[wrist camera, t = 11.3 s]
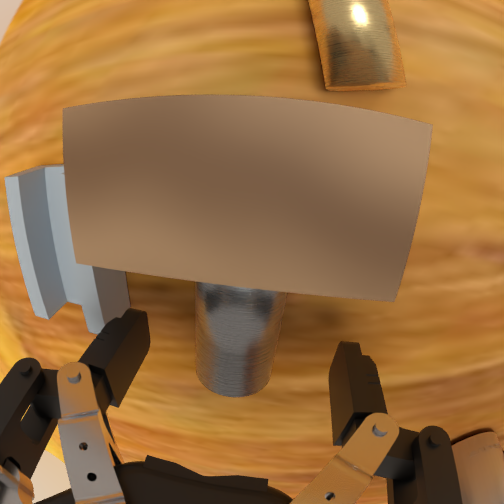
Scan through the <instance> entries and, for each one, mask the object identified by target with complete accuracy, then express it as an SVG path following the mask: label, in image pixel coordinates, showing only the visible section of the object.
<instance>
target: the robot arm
mask: <svg viewBox="0 0 504 504" xmlns="http://www.w3.org/2000/svg"><path fill="white" fill-rule="evenodd" d="M149 347H150V333H149V326H148V318H147V313H146V312H145V311H141V310H136V309H132V308H128V309H127V310H126V311H125V313H124V314H123V315H122V317H121V318H118V317H115V318H114V319H112V320H111V321H109V322H108V323H106V325H105V326H104V327H103V329H102V330H101V332H100V333H99V334H98V335H97V337H96V339H94V341H93V342H92V343H91V345H90V346H89V347H88V349H87V350H86V351H85V353H84V354H83V355H82V357H81V358H80V360H79V361H78V362H71V363H68V364H65V365H64V366H62V367H61V368H60V370H51V369H42V368H41V366H40V363H39V362H38V361H37V360H36V359H34V358H23V359H21V360H19V361H18V362H16V363H15V365H14V366H13V367H12V369H11V370H10V371H9V373H8V374H7V375H6V377H5V378H4V379H3V381H2V382H1V384H0V504H32V500H33V499H34V493H33V484H32V482H31V480H30V479H31V477H32V475H33V473H34V471H35V468H36V466H37V464H38V462H39V460H40V457H41V456H42V454H43V452H44V450H45V448H46V446H47V444H48V442H49V440H50V438H51V436H52V434H53V432H54V430H55V428H56V426H57V424H58V428H59V434H60V440H61V445H62V450H63V455H64V460H65V465H66V468H67V473H68V477H69V481H70V485H71V488H70V489H68V490H65V491H63V492H61V493H58V494H56V495H54V496H52V497H49V498H47V499H44V500H42V501H39V502H36V503H34V504H355V502H356V501H357V500H358V498H359V497H360V496H361V494H362V493H363V492H364V490H365V489H366V488H367V486H368V485H369V483H370V482H371V480H372V478H373V477H372V476H373V475H376V476H380V477H384V478H387V494H388V504H504V453H503V450H502V448H501V445H500V443H499V440H498V438H497V435H496V433H494V432H485V433H481V434H477V435H474V436H472V437H469V438H467V439H465V440H462V441H460V442H458V443H456V444H454V445H452V446H451V442H450V438H449V436H448V434H447V433H446V432H445V431H444V430H443V429H442V428H440V427H437V426H428V427H425V428H424V429H423V430H422V431H421V432H420V433H419V432H415V431H411V430H406V429H403V428H400V427H399V426H398V424H397V422H396V421H395V419H394V418H392V417H391V416H389V415H388V413H387V409H386V405H385V400H384V396H383V392H382V388H381V385H380V379H379V377H378V372H377V368H376V364H375V363H374V362H373V361H372V359H371V358H370V357H369V356H365V355H362V353H361V349H360V345H359V343H356V342H344V341H341V342H340V343H339V345H338V348H337V351H336V353H335V356H334V359H333V362H332V364H331V367H330V371H329V391H330V403H331V417H332V432H333V445H338V446H342V449H341V450H340V452H339V453H338V454H337V455H336V456H334V457H333V459H332V460H331V461H330V462H329V463H328V464H327V465H326V466H325V468H324V469H323V470H322V471H321V472H320V473H319V474H318V475H317V476H316V477H315V478H314V479H313V481H312V482H311V483H310V484H309V485H308V486H307V487H306V488H305V489H304V490H303V491H302V492H301V493H300V494H299V495H298V496H297V497H296V498H295V499H294V500H293V499H292V498H291V497H289V496H288V495H286V494H285V493H283V492H282V491H280V490H278V489H275V488H273V487H270V486H268V479H264V478H255V477H247V476H239V475H233V476H202V475H200V474H198V473H195V472H193V471H191V470H189V469H187V468H185V467H183V466H181V465H179V464H177V463H174V462H170V461H166V460H163V459H159V458H156V457H152V456H149V455H147V457H146V460H145V462H144V461H135V462H128V463H124V461H123V458H122V456H121V454H120V452H119V449H118V447H117V444H116V441H115V437H114V434H113V431H112V428H111V425H110V421H109V418H108V414H107V411H106V410H107V408H108V407H109V405H112V406H115V407H118V408H119V406H120V404H121V402H122V400H123V398H124V396H125V394H126V392H127V390H128V388H129V387H130V385H131V383H132V381H133V379H134V377H135V375H136V373H137V371H138V370H139V368H140V366H141V364H142V362H143V360H144V358H145V357H146V355H147V353H148V351H149ZM29 405H30V407H29ZM28 407H29V409H28ZM27 409H28V410H27ZM26 410H27V412H26ZM25 412H26V414H25V415H24V413H25ZM23 415H24V417H23ZM22 417H23V419H22ZM21 419H22V420H21Z"/></svg>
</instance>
